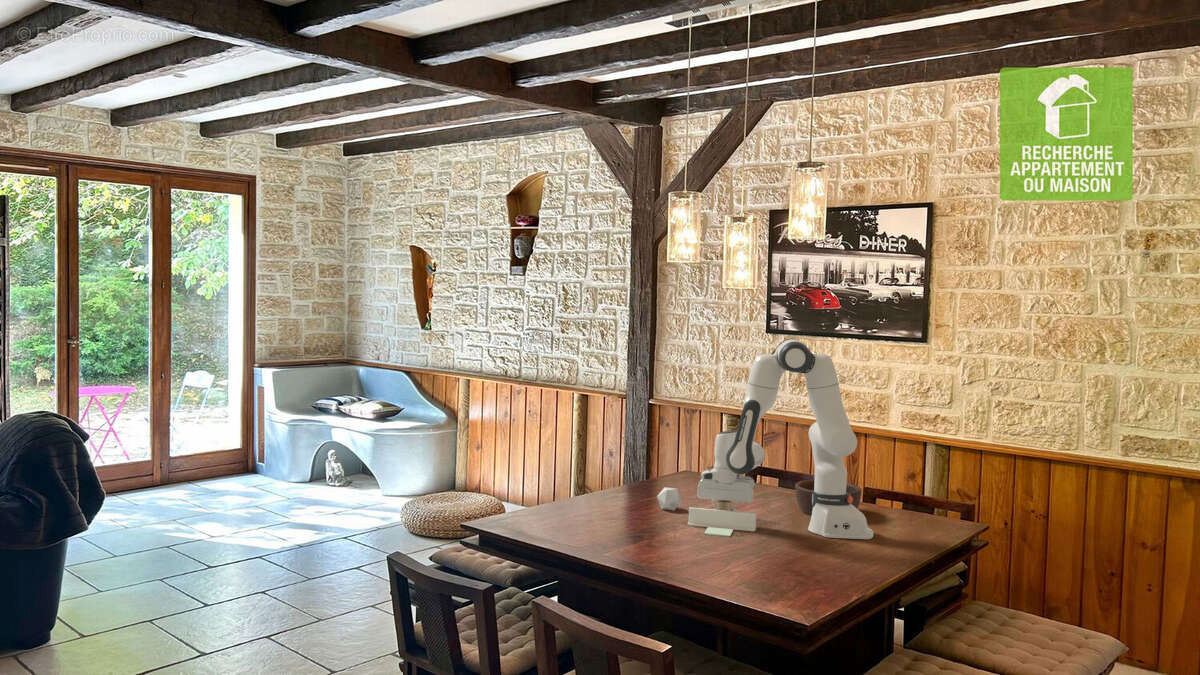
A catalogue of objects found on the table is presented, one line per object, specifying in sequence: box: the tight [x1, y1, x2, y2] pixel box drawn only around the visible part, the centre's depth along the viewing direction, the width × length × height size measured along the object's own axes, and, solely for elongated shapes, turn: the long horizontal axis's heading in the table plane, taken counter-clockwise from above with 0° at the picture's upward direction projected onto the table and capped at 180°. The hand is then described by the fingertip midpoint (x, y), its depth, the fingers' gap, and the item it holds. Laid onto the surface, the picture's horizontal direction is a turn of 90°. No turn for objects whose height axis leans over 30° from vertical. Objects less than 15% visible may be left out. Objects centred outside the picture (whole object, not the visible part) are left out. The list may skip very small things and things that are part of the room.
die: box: [656, 486, 682, 511], centre depth 349 cm, size 8×9×10 cm
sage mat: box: [703, 527, 734, 538], centre depth 317 cm, size 9×9×1 cm
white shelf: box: [687, 506, 757, 532], centre depth 324 cm, size 24×4×6 cm, turn 75°
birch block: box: [717, 500, 733, 511], centre depth 330 cm, size 4×4×8 cm
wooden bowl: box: [794, 479, 862, 516], centre depth 351 cm, size 25×25×10 cm
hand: (724, 512), depth 330 cm, fingers closed on birch block, 4 cm apart
